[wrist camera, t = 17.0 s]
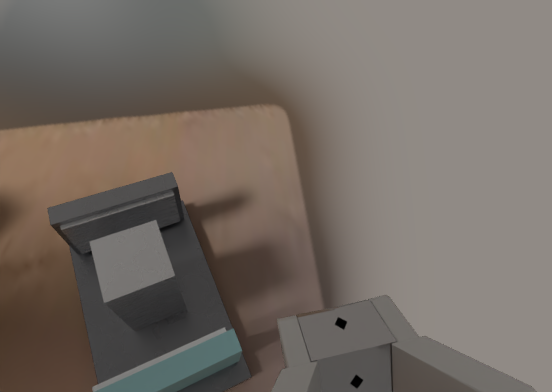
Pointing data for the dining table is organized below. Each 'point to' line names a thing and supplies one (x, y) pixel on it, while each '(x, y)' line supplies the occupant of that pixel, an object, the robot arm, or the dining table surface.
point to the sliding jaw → (179, 366)
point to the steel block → (137, 275)
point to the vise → (185, 262)
